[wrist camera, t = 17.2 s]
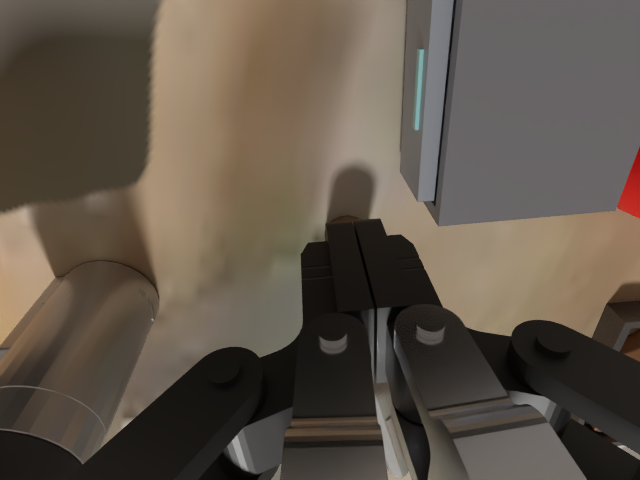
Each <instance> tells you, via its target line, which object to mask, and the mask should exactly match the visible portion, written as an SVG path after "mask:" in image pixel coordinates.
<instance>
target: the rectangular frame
mask: <svg viewBox="0 0 640 480" xmlns="http://www.w3.org/2000/svg"><path fill="white" fill-rule="evenodd" d="M633 328H640V301H634V302H624V303H613V304H607V305H606V307H605V309H604V312H603V314H602V316H601V319H600V321H599V323H598V326H597V328H596V330H595V333H594V335H593V337H592V339H593V340H596V341H598V342H600V343H602V344H604V345H606V346H608V347H610V348H612V349H614V350H616V351H618V352H620V350H621V348H622V346H623V344H624V342H625V340H626V338H627V336H628V334H629V332H630V330H631V329H633ZM571 418H572V419H574V420H575V421H577V422H578V423H580V424H582V425H583V426H585V427H587V428H588V429H590V430H591V431H593V432H595V433H596V434H598V435H600V436H601V437H603V438H604V439H606V440H608V441H609V442H611V443H613V444H614V445H616V446H620V445H623V444H622V443H620V442H618V441H617V440H615V439H613V438H612V437H610V436H608V435H607V434H605V433H603V432H598V431H595V430H594V429H593V428H592V427H591V425H590V424H584V423H585V421H584V420H582V419H580V418H579V417H577V416H576V415H574V414H573V415H572V417H571Z"/></svg>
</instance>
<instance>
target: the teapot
mask: <svg viewBox="0 0 640 480" xmlns="http://www.w3.org/2000/svg"><path fill="white" fill-rule="evenodd" d="M617 207H618V209H620V210H622V211H625V212H627V213H629V214H631V215H633V216H635V217H638V218H640V147H639V150H638V152H637V155H636V157H635V160H634V163H633V165H632V168H631V171H630V173H629V176H628V179H627V181H626V184H625V186H624V189H623V192H622V194H621V197H620V200H619V202H618V205H617Z"/></svg>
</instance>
